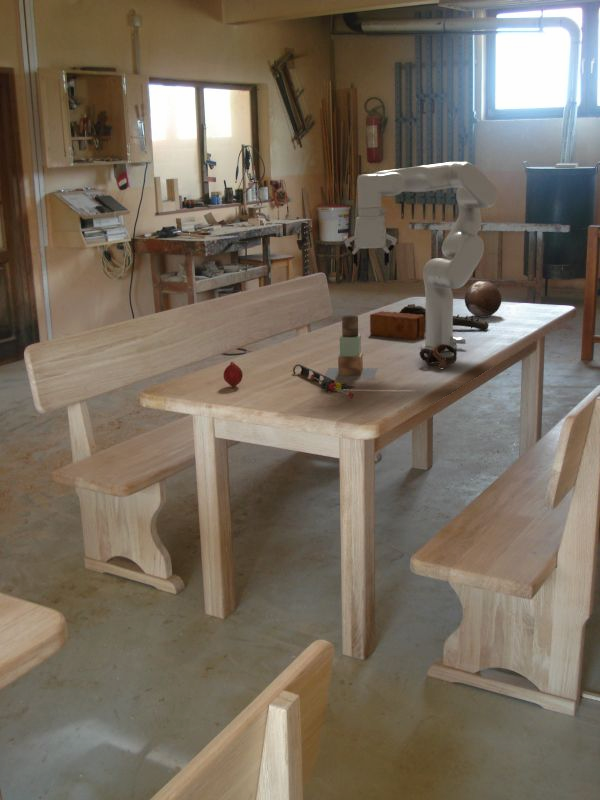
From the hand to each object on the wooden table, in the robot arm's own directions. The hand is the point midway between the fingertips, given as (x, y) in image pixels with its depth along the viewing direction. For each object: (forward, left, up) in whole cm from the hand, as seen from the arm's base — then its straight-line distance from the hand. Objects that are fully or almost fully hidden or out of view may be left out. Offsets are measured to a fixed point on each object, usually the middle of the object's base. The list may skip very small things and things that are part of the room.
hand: (371, 265), depth 311 cm
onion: (+39, +41, -32) cm, 65 cm away
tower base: (+5, +23, -31) cm, 39 cm away
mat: (+5, +23, -32) cm, 39 cm away
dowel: (+5, +23, -19) cm, 30 cm away
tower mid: (+5, +23, -25) cm, 34 cm away
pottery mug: (-22, +10, -32) cm, 40 cm away
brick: (-6, -40, -32) cm, 52 cm away
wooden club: (-21, -53, -32) cm, 66 cm away
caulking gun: (+10, +38, -32) cm, 51 cm away
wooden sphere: (-39, -80, -32) cm, 95 cm away
